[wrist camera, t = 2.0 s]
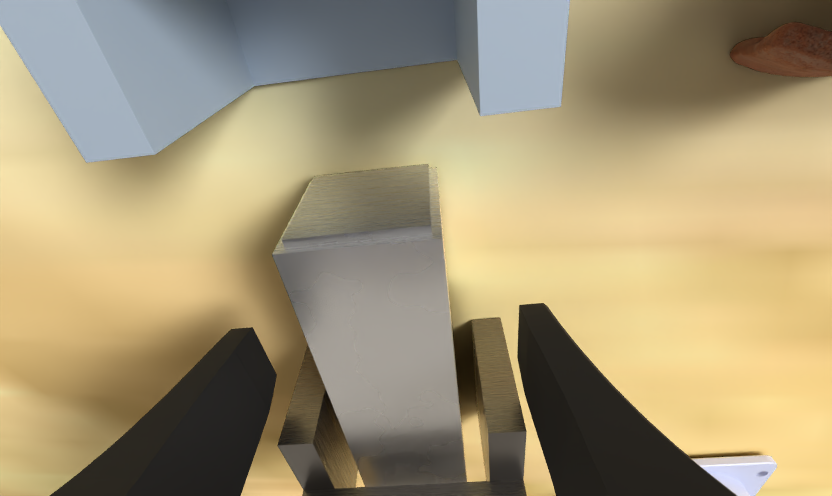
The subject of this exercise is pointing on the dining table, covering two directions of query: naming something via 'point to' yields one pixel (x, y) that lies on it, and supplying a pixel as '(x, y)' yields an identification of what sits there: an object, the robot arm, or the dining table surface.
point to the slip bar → (380, 319)
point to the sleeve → (501, 492)
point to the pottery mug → (788, 51)
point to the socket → (265, 56)
